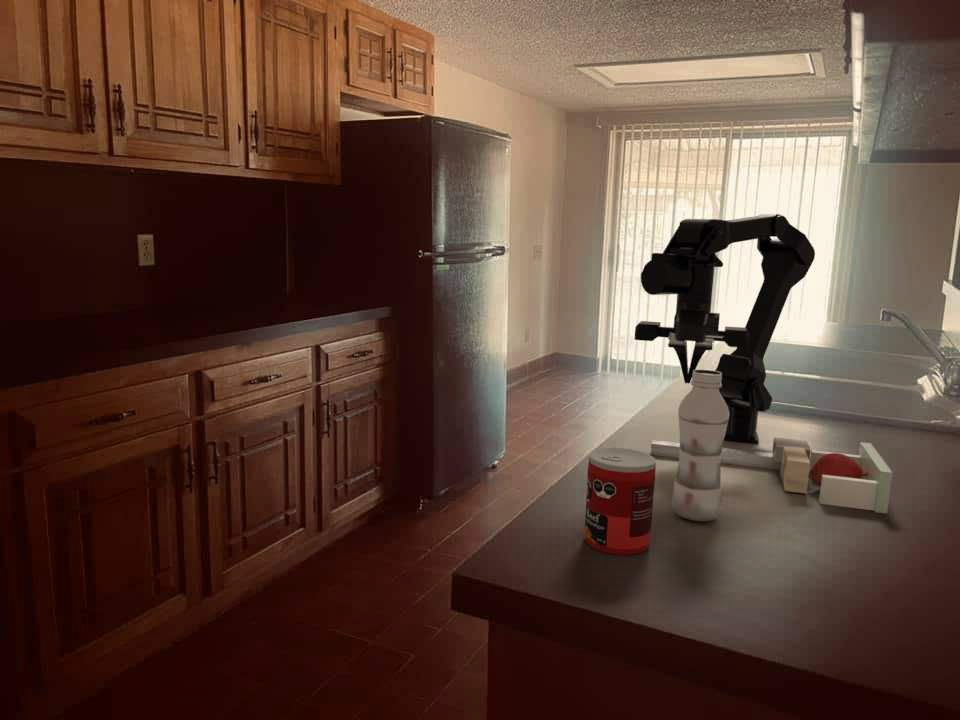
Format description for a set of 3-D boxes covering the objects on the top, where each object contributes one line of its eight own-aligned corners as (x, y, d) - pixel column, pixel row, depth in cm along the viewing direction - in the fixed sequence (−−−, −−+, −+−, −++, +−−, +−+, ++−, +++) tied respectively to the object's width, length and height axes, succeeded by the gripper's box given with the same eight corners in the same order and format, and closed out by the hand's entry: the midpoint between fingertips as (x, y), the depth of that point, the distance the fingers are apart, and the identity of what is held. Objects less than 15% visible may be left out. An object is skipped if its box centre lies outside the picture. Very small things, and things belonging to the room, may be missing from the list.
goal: (807, 472, 118) (812, 437, 117) (866, 479, 115) (870, 443, 114) (820, 505, 104) (825, 465, 103) (887, 513, 101) (892, 472, 100)
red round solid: (808, 451, 108) (867, 448, 106) (805, 458, 114) (861, 455, 111) (813, 491, 107) (874, 489, 104) (810, 495, 112) (867, 493, 109)
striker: (771, 463, 121) (774, 436, 121) (803, 467, 120) (806, 439, 119) (777, 489, 109) (781, 459, 108) (814, 494, 107) (817, 463, 106)
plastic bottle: (695, 530, 94) (708, 378, 90) (659, 512, 100) (670, 369, 96) (731, 522, 97) (745, 375, 93) (694, 505, 103) (706, 366, 99)
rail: (651, 450, 127) (652, 439, 127) (846, 473, 118) (847, 461, 118) (650, 454, 125) (651, 443, 125) (848, 478, 116) (850, 466, 116)
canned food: (580, 528, 93) (585, 446, 91) (643, 531, 93) (649, 448, 91) (587, 555, 86) (592, 465, 84) (655, 557, 86) (662, 468, 84)
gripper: (634, 294, 119) (628, 387, 122) (755, 300, 114) (745, 397, 117) (640, 289, 130) (634, 375, 132) (751, 295, 124) (743, 384, 127)
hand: (687, 382), depth 127 cm, fingers closed
